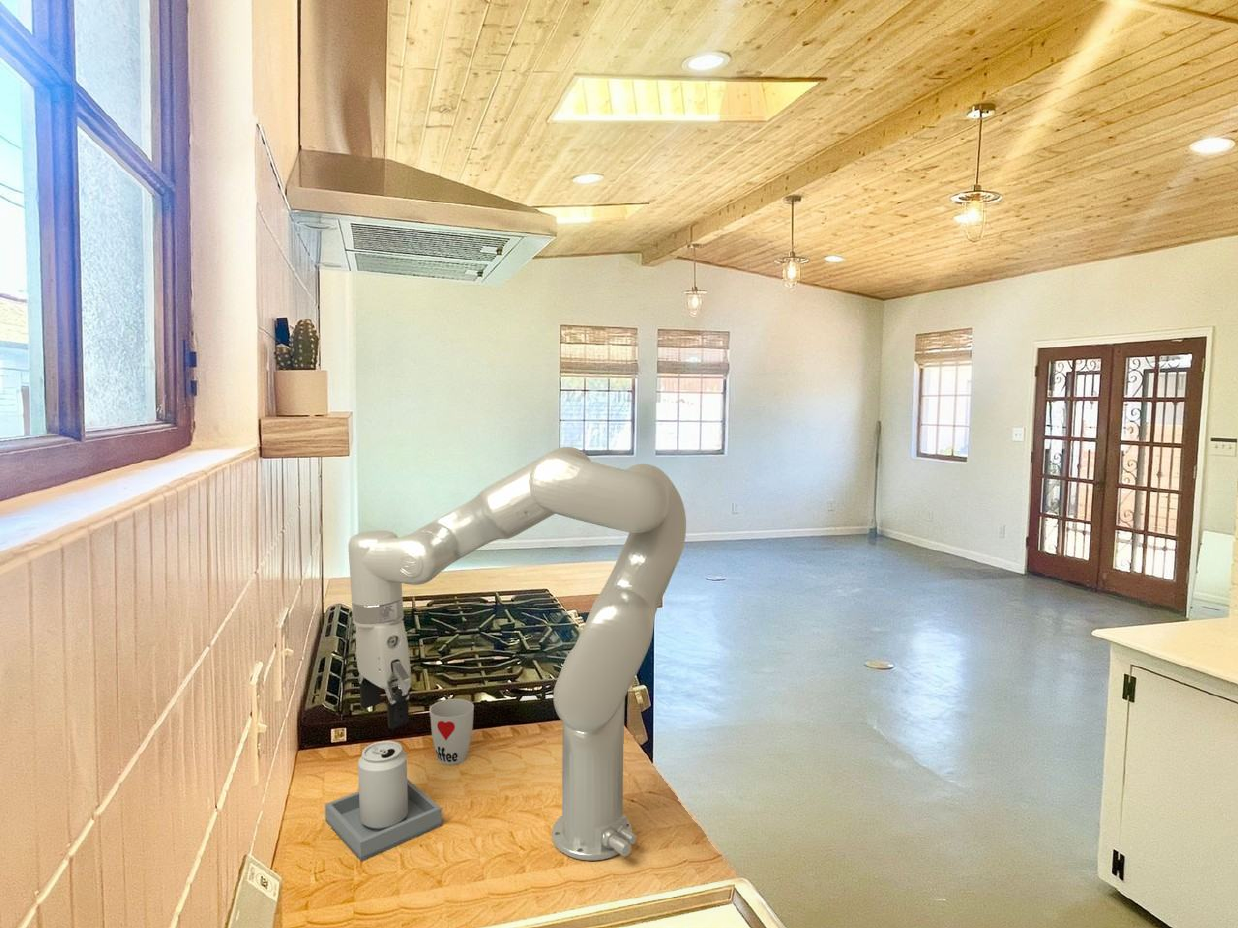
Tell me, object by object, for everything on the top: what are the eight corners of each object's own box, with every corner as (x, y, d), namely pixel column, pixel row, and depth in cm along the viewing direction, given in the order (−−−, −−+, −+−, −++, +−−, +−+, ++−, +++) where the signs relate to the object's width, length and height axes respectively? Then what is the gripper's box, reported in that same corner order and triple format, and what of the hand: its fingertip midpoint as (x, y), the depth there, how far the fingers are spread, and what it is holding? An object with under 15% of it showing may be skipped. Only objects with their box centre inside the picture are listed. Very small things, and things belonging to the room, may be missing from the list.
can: (395, 835, 117) (393, 762, 116) (350, 829, 119) (348, 758, 117) (416, 808, 125) (414, 739, 123) (374, 803, 126) (372, 735, 124)
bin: (442, 825, 121) (441, 807, 121) (361, 861, 112) (360, 842, 112) (402, 790, 131) (402, 774, 131) (325, 821, 122) (324, 803, 121)
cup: (421, 760, 141) (420, 709, 140) (453, 743, 148) (453, 694, 147) (451, 773, 137) (450, 721, 135) (483, 755, 143) (482, 705, 142)
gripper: (427, 617, 113) (432, 725, 115) (376, 594, 126) (382, 692, 128) (379, 629, 108) (386, 742, 110) (332, 604, 121) (339, 705, 123)
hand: (384, 715), depth 119 cm, fingers open, 9 cm apart
